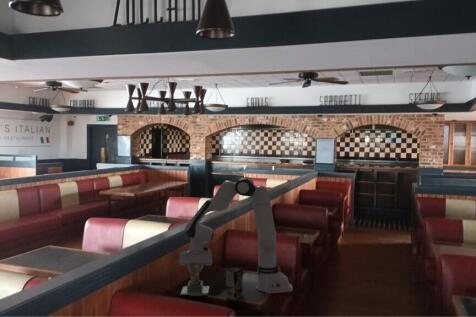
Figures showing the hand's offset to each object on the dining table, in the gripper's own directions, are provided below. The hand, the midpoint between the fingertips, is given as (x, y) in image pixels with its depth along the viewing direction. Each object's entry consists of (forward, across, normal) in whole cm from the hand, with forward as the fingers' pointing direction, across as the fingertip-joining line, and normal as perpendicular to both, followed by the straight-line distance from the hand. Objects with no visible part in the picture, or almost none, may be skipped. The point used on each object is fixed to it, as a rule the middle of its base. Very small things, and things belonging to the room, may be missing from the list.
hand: (194, 271), depth 237 cm
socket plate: (+9, 0, +10) cm, 13 cm away
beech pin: (+5, 0, +6) cm, 7 cm away
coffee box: (+14, +24, +4) cm, 28 cm away
